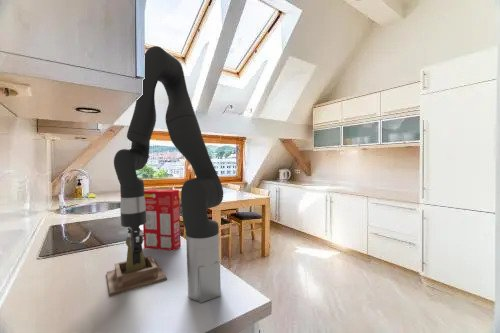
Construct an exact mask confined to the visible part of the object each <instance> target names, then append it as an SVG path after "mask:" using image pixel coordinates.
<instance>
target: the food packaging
mask: <svg viewBox="0 0 500 333" xmlns="http://www.w3.org/2000/svg"><path fill="white" fill-rule="evenodd" d="M144 196H145V203H146V223H145V224H143V225H142V226H143V227H142V228H143V231H142V232H143V248H144V249H153V250H163V251H164V250H165V251H176V250H177V249H178V248H180V247H181V241H182V240H181V220H180V218H181V217H180V216H181V214H180V213H181V212H180V192H179V189H146V190H145V189H144Z"/></svg>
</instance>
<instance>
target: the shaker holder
mask: <svg viewBox="0 0 500 333" xmlns="http://www.w3.org/2000/svg"><path fill="white" fill-rule="evenodd" d="M144 260H145V265H146V267H145V268H144V269H142V270H138V271H134V272H126V261H127V260H125V261H121V262H117V263H114V269H113V270H109V271H106V277H107V284H108V285H107V286H108V292H109V297H110V296H111V295H112V296H114V295H118V294H122V293H124V292H125V293H126V292H128V291H129V292H130V291H132V290H135V289H139V288H142V287H147V286H149V285H152V284H157V283H160V282H163V281H167V280H168V276H167V275H166V273H165V272H164V270H163V269H162V267H161V266H160V264H159V263H158V261H157V260H156V259H155V260H153V258H152V255H148V256H144Z"/></svg>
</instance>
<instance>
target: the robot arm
mask: <svg viewBox="0 0 500 333" xmlns="http://www.w3.org/2000/svg"><path fill="white" fill-rule="evenodd" d="M144 55H145V79H144V80H143V95H142V96H141V97H140V98H139V99H138V100H135V101H136V102H135V105H134V110H133V114H132V117H131V120H130V124H129V127H128V130H127V132H126V138H127V140H129V141H130V142H131V143H130V144H131V145H130V148H123V149H119V150H118V151H117V152H116V153H115V154H114V158H113V167H114V170H115V174H116V177H117V180H118V183H119V186H120V187H119V188H120V189H119V190H120V201H119V202H120V203H119V210H120V211H119V212H120V225H121V227H123V228H127V230H126V233H127V237H129V240H130V246H131V247H132V256H133V265H135V264H136V263H139V264H140V262H141V261H140V252H142V249H143V246H142V245H143V243H142V237H143V231H142V229H141V228H140V226H143V224H145V223H146V203H145V196H144V191H145V182H144V180H143V179H142V178H140V177H138V175H137V171H140V170H142V169H144V168H145V166H146V165H147V163H148V161H149V156H150V145H151V144H150V142H151V141H150V140H151V139H152V136H153V132H154V131H155V127H156V121H157V111H156V102H155V100H156V99H155V96H156V95H155V94H156V93H155V92H156V87H157V84H158V82H160V83H161V84H162V86H163V87H164V90H165V92H166V96H167V99H168V104H167V108H166V111H165V117H164V118H165V125H166V128H167V132H168V135H169V139H170V141H171V143H172V144H173V146H175V148H176V149H177V150H178V152H179V153H180V154H181V155H182V156H183V157H184V158H185V159H186V160H187V162H189V163H188V164H189V165H190V166H191V168H192V170H193V172H194V176H195V177H194V178H189V179H187V180H185V181H184V183H183V184H182V187H181V191H180V203H181V212H182V213H181V214H182V223H183V225H184V230H185V234H186V235H185V236H186V237H185V238H186V239H185V240H186V245H185V246H186V265H187V266H186V267H187V268H186V271H187V272H186V276H187V295H188V296H187V297H188V298H190V299H191V300H193V301H198V302H199V303H205V302H207V301H210V300H213V299H215V298H218V297H221V296H222V292H221V291H222V288H221V262H220V233H219V232H220V229H219V228H220V226H219V223H218V222H217V221H216V220H213V219H209V216H208V210H209V209H213V208H215V207H218V206H219V205H220V204H222V202H223V199H224V188H223V184H222V181H221V179H220V178H219V175H218V173H217V171H216V169H215V166H214V164H213V161H212V160H211V157H210V155H209V152H208V149H207V148H208V147H207V146H206V143H205V140H204V138H203V134H202V131H201V128H200V124H199V122H198V118H197V116H196V113H195V110H194V107H193V104H192V101H191V98H190V95H189V92H188V89H187V82H186V78H185V73H184V69H183V65H182V63H181V61H180V60H179V59H178V58H177V57H175V55H173V54H171V53H170V52H168V51H167V50H165V48H162V47H161V46H158V45H153V46H150V47H149V48H148V49H147V50H146V52H144ZM131 238H132V239H131ZM132 241H133V243H132ZM135 247H138V249H135Z"/></svg>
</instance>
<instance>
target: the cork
mask: <svg viewBox="0 0 500 333" xmlns="http://www.w3.org/2000/svg"><path fill="white" fill-rule="evenodd" d="M131 239H132V238H131ZM132 243H133V241H132ZM125 244H126V247H127V252H126V260H125V261H126V272H134V271H138V270H142V269H144V268H145V267H146V265H145V260H144V257H145V256H144V249H143V248H142V252H140V261H141V262H140V264H139V263H136V264H135V265H133V256H132V247H131V246H130V240H129V237H128V236H127V237H126V239H125ZM142 244H144V236H142ZM135 249H138V247H135Z"/></svg>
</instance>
